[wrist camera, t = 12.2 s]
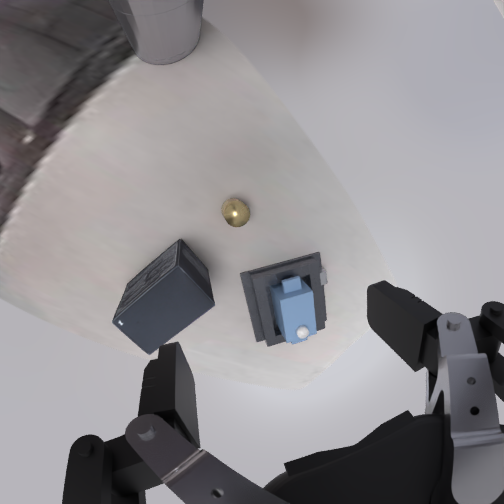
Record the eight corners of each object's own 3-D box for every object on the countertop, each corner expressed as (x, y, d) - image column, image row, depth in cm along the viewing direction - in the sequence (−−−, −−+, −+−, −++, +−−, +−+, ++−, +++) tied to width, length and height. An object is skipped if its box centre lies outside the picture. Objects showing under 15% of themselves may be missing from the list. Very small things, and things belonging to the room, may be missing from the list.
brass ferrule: (219, 201, 37) (222, 205, 33) (241, 196, 37) (247, 199, 34) (224, 223, 38) (227, 229, 34) (246, 217, 38) (252, 223, 35)
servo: (267, 272, 41) (280, 292, 35) (297, 265, 41) (314, 282, 35) (277, 331, 44) (290, 356, 38) (304, 323, 45) (320, 346, 39)
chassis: (239, 273, 40) (243, 280, 38) (318, 252, 42) (326, 257, 39) (256, 340, 44) (259, 350, 42) (325, 318, 46) (332, 326, 43)
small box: (156, 315, 40) (149, 358, 30) (125, 284, 38) (107, 321, 28) (211, 271, 40) (218, 307, 30) (180, 236, 37) (176, 262, 27)
